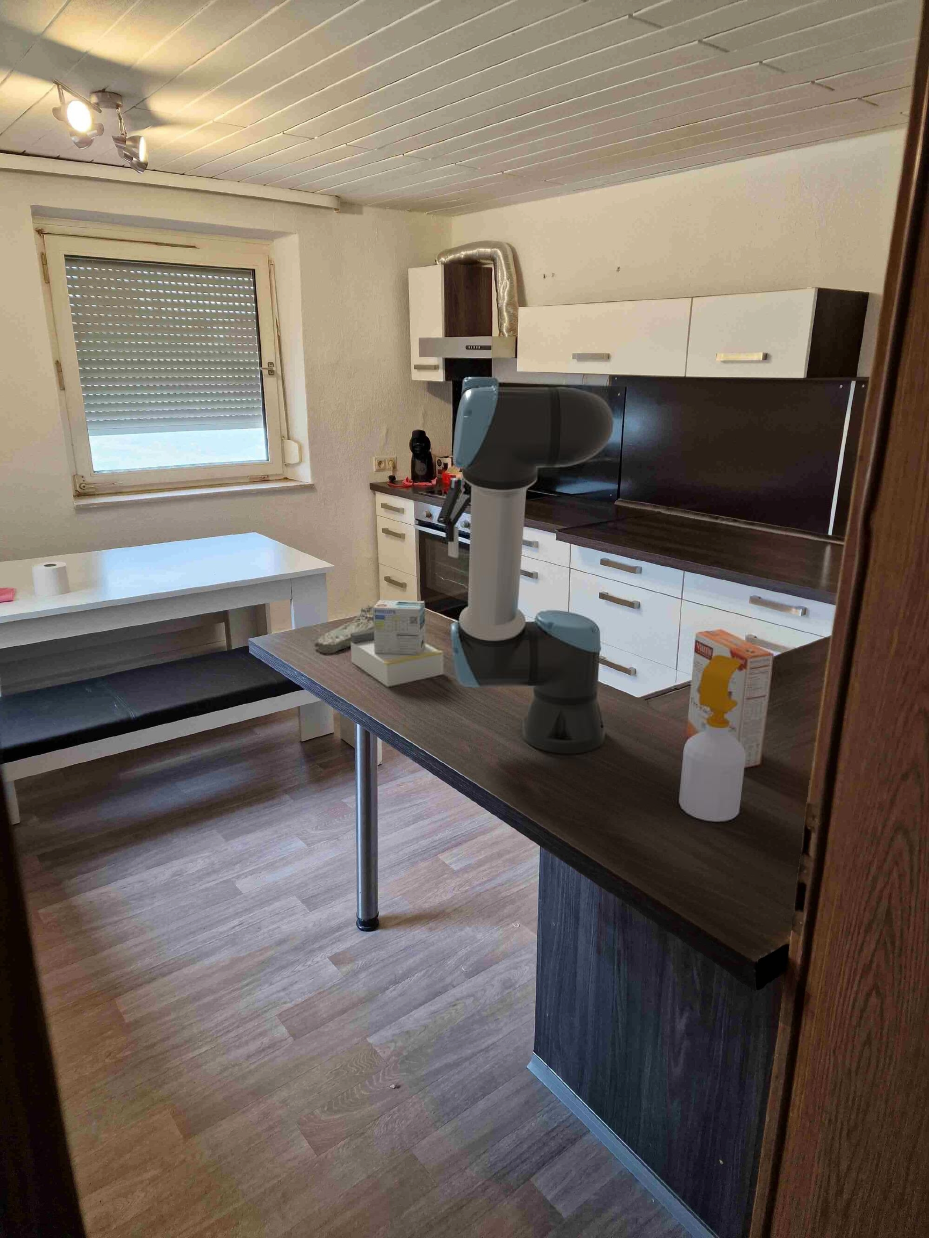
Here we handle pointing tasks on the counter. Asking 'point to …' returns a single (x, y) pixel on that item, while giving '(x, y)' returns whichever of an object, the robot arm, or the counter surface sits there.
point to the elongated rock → (345, 632)
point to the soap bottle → (713, 752)
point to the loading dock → (394, 661)
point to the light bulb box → (399, 627)
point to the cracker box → (734, 690)
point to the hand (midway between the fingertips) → (479, 553)
